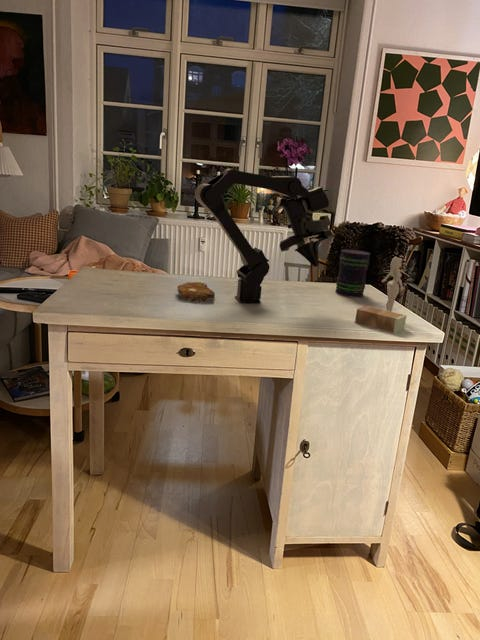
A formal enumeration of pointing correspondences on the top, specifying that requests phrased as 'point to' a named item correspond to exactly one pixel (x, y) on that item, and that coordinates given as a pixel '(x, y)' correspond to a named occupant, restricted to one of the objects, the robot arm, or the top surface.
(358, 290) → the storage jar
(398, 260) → the human figurine
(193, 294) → the decorative rock
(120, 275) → the top surface
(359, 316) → the walnut block
